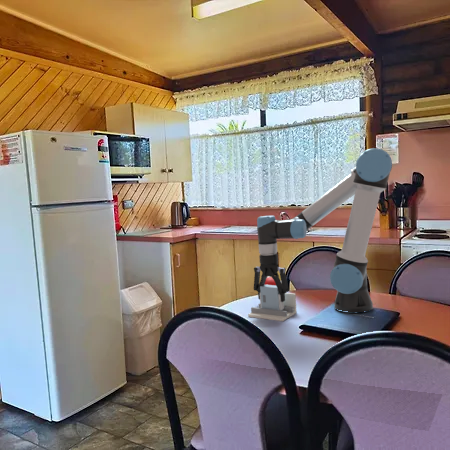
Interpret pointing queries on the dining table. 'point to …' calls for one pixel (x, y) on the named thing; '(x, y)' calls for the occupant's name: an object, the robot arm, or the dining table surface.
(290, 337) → the dining table surface
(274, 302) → the door
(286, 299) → the track
